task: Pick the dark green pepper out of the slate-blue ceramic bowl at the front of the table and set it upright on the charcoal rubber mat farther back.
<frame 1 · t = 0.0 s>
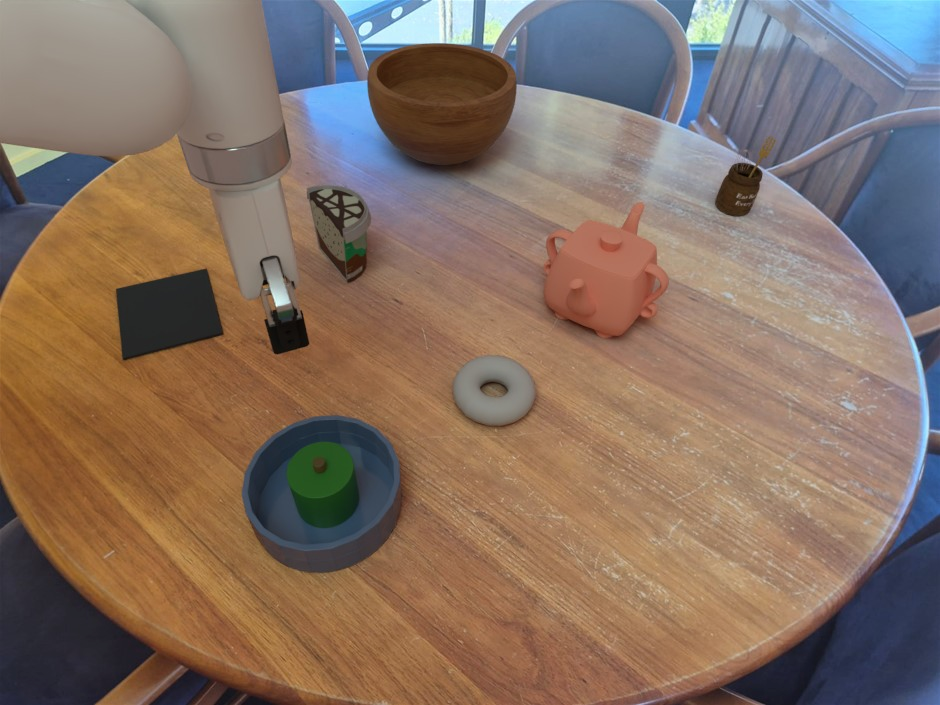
hand: (279, 313, 59), 17 cm above the table, tool pointing down, fingers open, 9 cm apart
utensil holder: (732, 208, 106), on the table
donut: (493, 399, 75), on the table
teapot: (593, 310, 87), on the table
food container: (352, 259, 92), on the table
serving bowl: (328, 502, 65), on the table
bowl: (441, 156, 114), on the table
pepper: (328, 499, 64), resting on serving bowl
mat: (168, 312, 83), on the table
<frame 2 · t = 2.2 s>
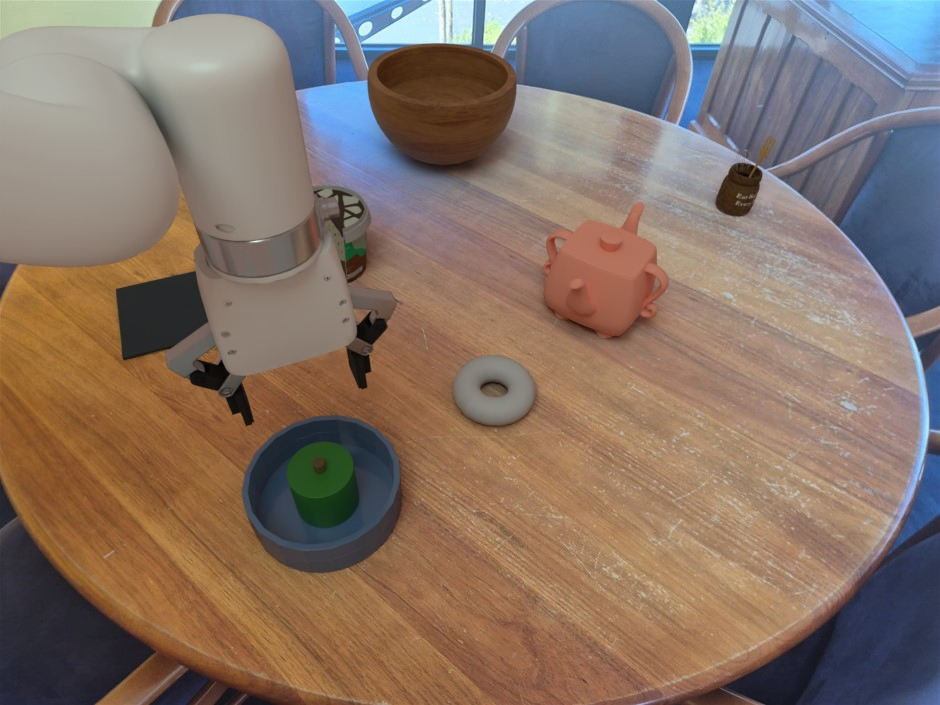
hand: (304, 394, 53), 17 cm above the table, tool pointing down, fingers open, 9 cm apart
nothing on the table moved.
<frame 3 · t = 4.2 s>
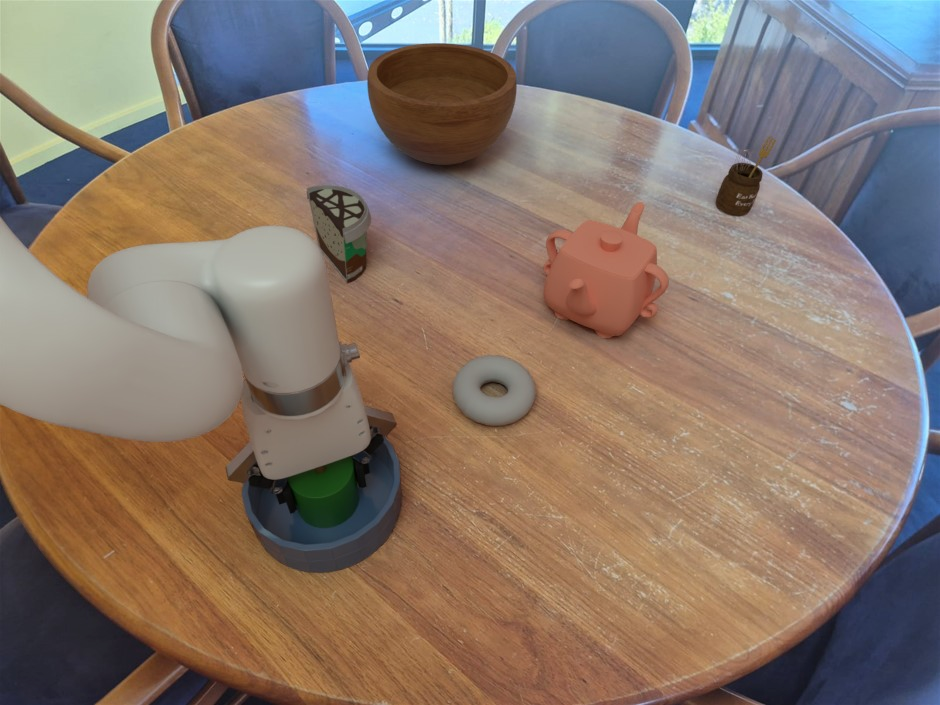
hand: (325, 487, 63), 3 cm above the table, tool pointing down, fingers closed on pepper, 6 cm apart
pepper: (328, 499, 64), point 1 cm above the table, touching gripper, serving bowl
everything else where it was.
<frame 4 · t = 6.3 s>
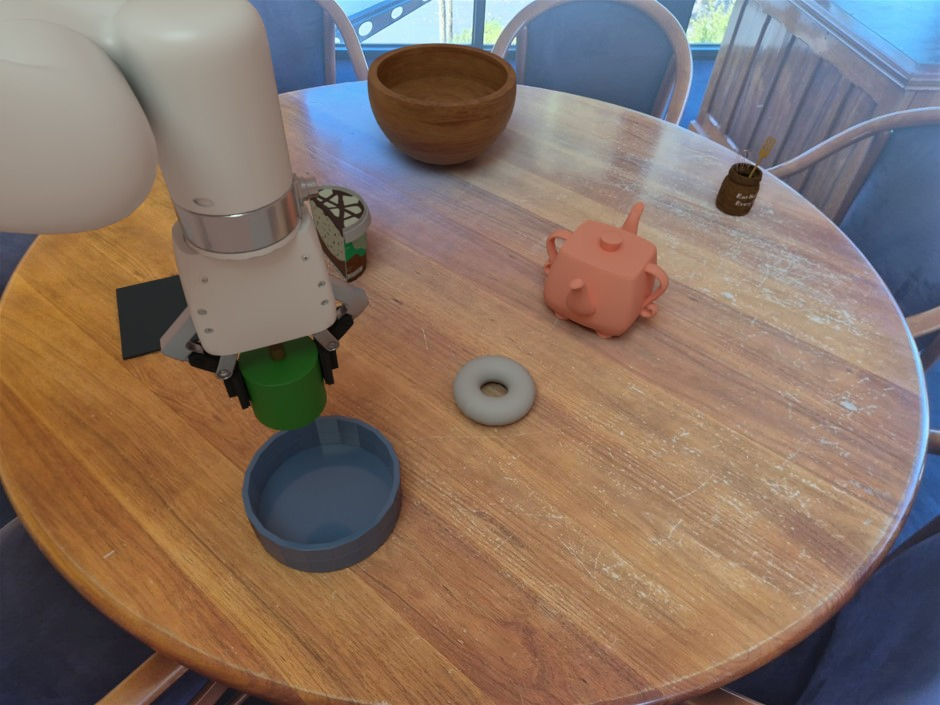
hand: (285, 383, 53), 17 cm above the table, tool pointing down, fingers closed on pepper, 6 cm apart
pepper: (290, 401, 55), point 15 cm above the table, touching gripper
everything else where it was.
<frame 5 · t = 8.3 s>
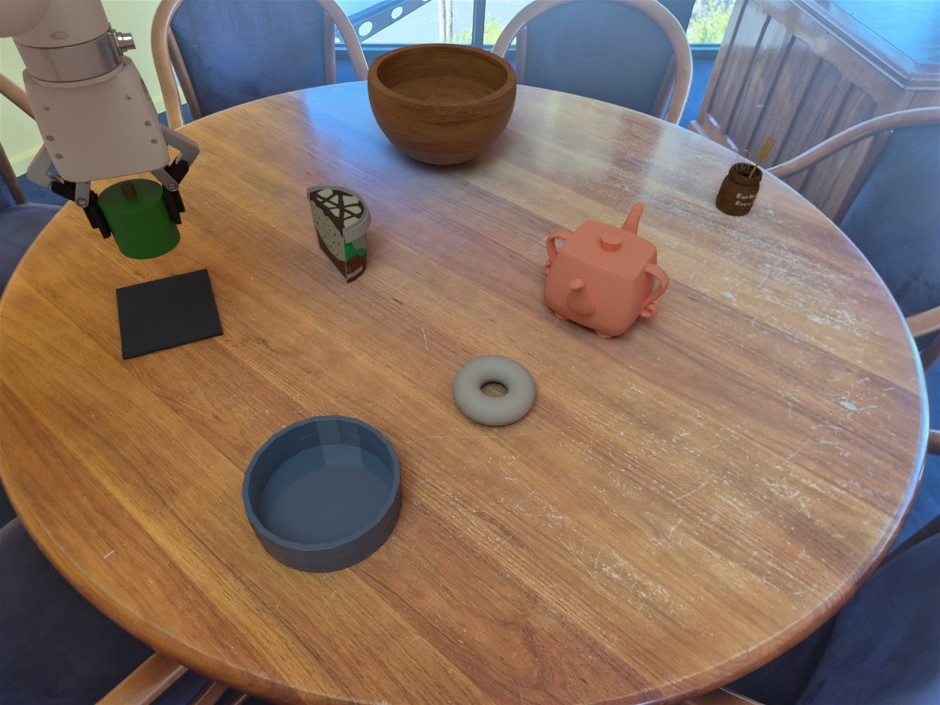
hand: (142, 223, 67), 18 cm above the table, tool pointing down, fingers closed on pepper, 6 cm apart
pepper: (150, 241, 69), point 15 cm above the table, touching gripper
everything else where it was.
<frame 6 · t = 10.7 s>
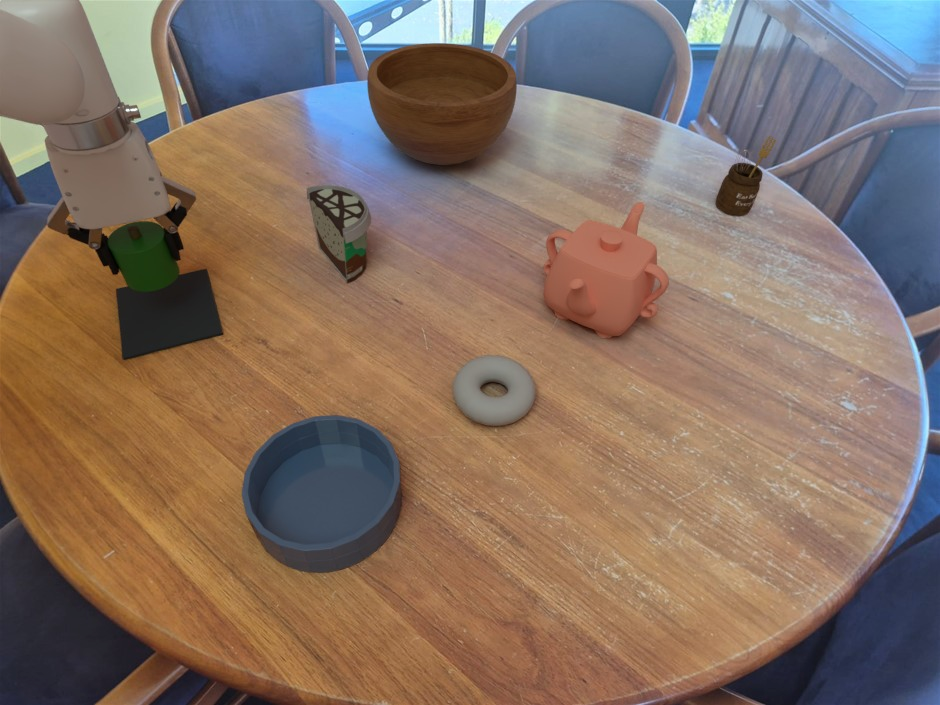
hand: (146, 260, 77), 9 cm above the table, tool pointing down, fingers closed on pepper, 6 cm apart
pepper: (153, 275, 79), point 6 cm above the table, touching gripper
everything else where it was.
when the fingers open (3 cm above the table, at t = 12.6 s): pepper stays where it is, resting on mat.
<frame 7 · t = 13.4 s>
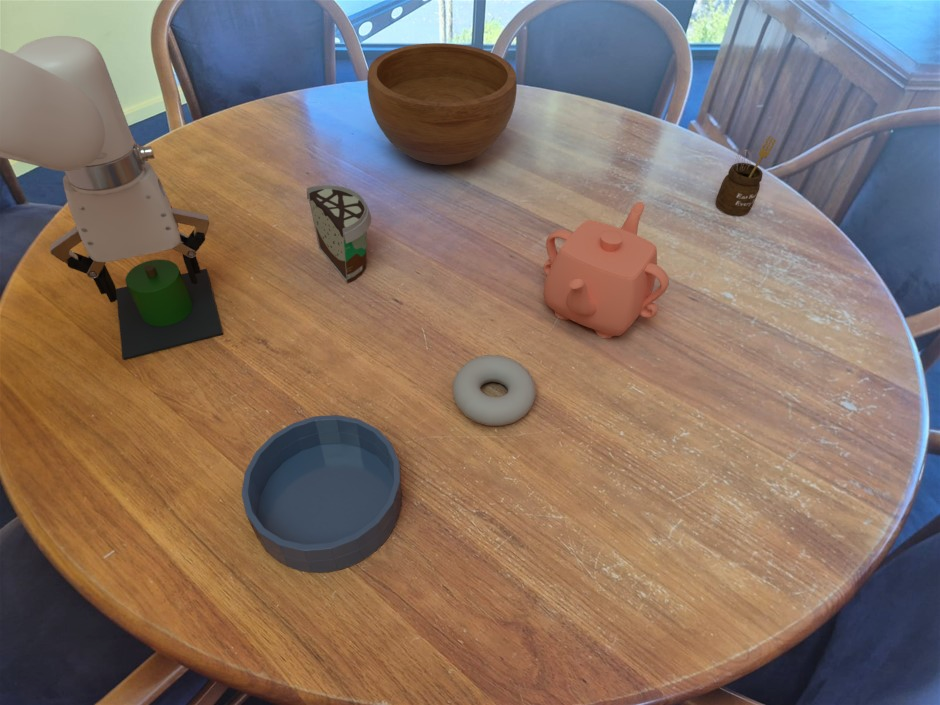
hand: (154, 286, 79), 5 cm above the table, tool pointing down, fingers open, 9 cm apart
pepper: (167, 309, 83), resting on mat
everything else where it was.
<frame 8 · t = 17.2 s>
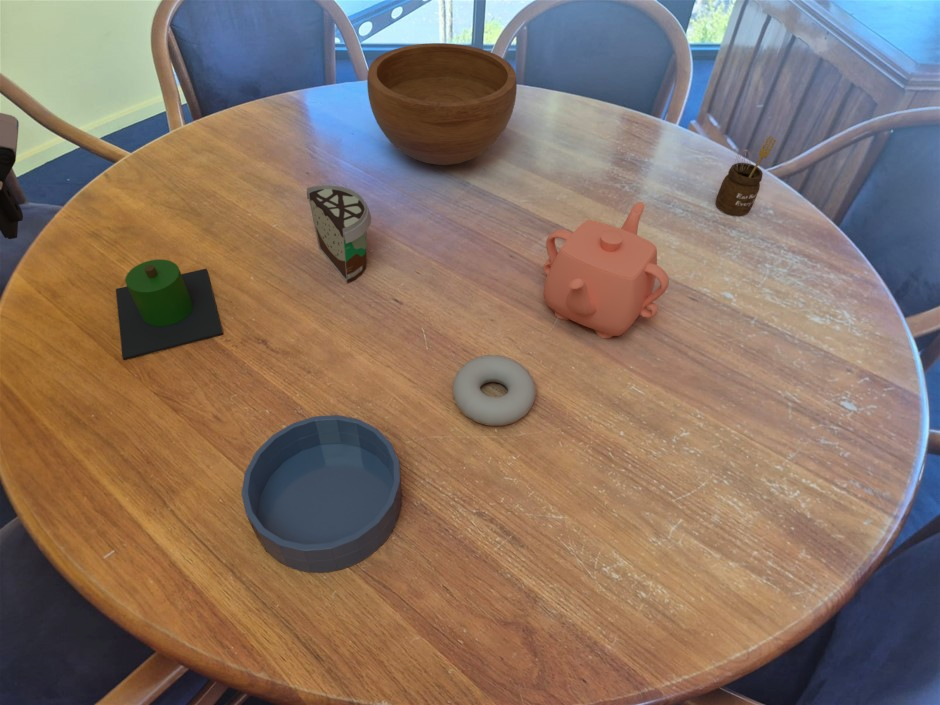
nothing on the table moved.
at the end: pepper inside the target area on the mat (0.0 cm from its centre), point 0.4 cm above the mat's base; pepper tilted 0° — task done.
